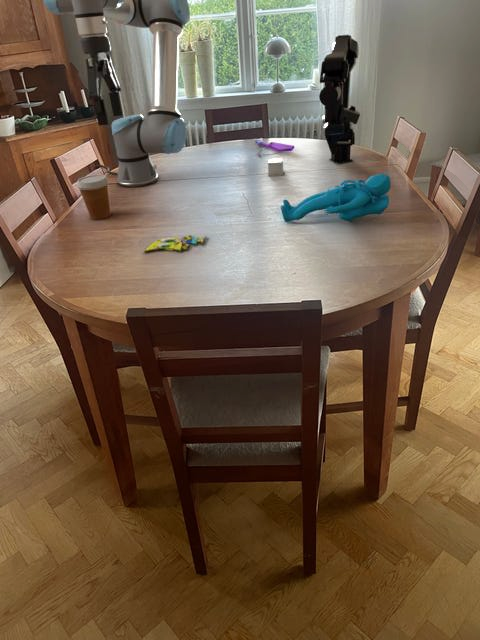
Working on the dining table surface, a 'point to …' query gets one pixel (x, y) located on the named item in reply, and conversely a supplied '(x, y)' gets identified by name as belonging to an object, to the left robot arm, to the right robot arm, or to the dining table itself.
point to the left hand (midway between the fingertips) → (111, 120)
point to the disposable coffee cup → (95, 195)
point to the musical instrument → (275, 146)
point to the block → (275, 167)
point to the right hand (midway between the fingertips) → (332, 150)
